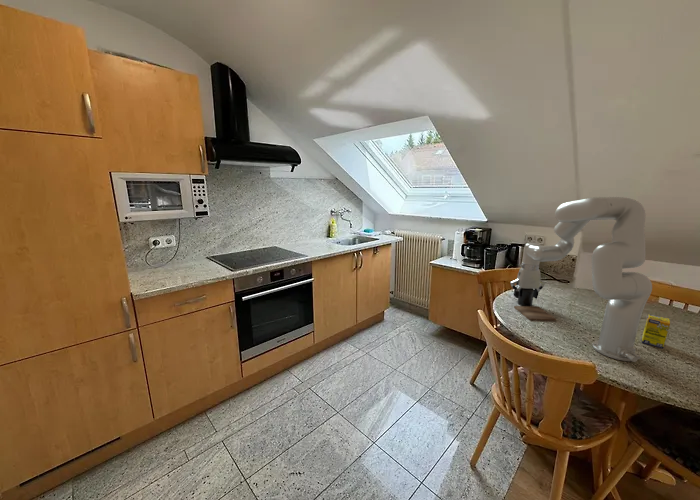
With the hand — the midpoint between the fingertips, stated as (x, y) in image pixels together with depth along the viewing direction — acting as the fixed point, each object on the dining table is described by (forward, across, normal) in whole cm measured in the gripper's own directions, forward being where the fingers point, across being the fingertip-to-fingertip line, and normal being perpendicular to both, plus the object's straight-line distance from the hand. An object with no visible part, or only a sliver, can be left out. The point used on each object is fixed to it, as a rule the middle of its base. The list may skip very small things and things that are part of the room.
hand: (525, 297), depth 150 cm
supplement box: (+4, +30, -37) cm, 48 cm away
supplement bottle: (+4, 0, 0) cm, 4 cm away
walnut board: (+4, -2, -12) cm, 13 cm away
